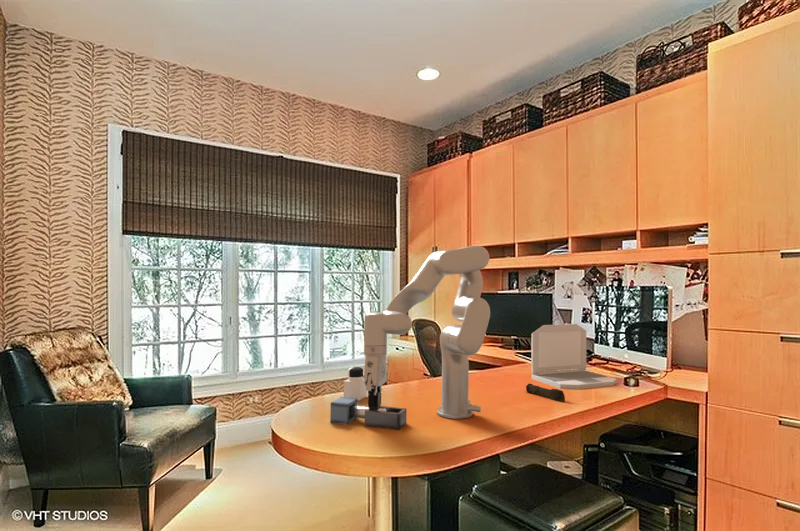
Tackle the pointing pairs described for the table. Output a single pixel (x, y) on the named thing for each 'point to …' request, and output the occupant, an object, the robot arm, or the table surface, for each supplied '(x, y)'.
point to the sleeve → (386, 418)
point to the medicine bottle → (355, 384)
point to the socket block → (342, 410)
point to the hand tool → (546, 392)
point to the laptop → (563, 358)
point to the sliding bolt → (360, 410)
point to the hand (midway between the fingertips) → (374, 405)
